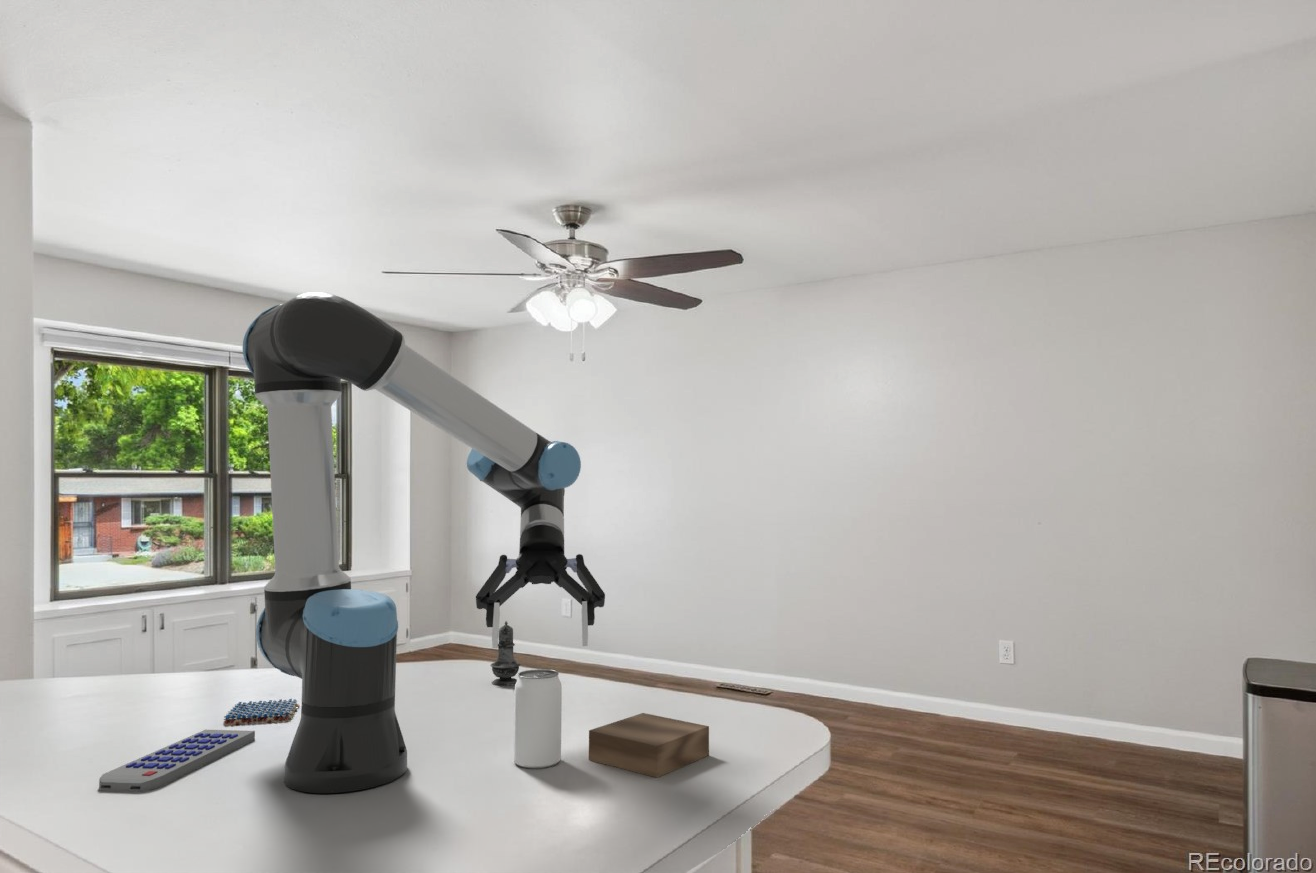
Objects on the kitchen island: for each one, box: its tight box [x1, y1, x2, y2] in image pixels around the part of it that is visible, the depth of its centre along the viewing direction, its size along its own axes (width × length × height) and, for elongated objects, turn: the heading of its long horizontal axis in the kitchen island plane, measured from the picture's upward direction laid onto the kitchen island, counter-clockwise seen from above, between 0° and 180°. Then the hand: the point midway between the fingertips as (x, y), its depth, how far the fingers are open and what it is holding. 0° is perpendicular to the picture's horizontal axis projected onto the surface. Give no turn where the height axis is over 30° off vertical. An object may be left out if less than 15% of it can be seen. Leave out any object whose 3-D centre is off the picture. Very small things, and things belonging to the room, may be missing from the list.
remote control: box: [98, 729, 256, 793], centre depth 114 cm, size 8×23×2 cm, turn 175°
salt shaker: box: [490, 620, 522, 687], centre depth 164 cm, size 6×6×12 cm
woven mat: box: [223, 698, 301, 727], centre depth 139 cm, size 10×11×2 cm
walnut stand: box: [588, 712, 710, 778], centre depth 117 cm, size 12×12×4 cm
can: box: [513, 668, 563, 770], centre depth 115 cm, size 6×6×12 cm
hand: (540, 642), depth 126 cm, fingers open, 13 cm apart
